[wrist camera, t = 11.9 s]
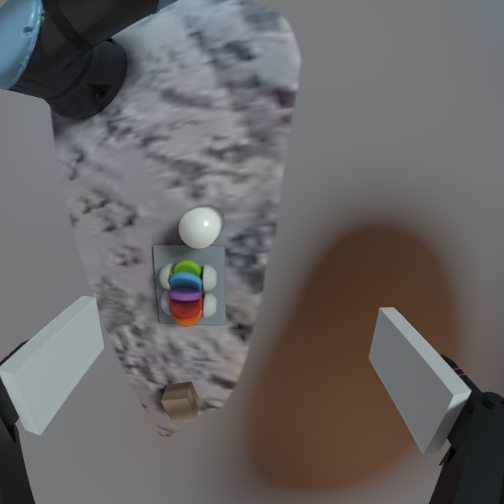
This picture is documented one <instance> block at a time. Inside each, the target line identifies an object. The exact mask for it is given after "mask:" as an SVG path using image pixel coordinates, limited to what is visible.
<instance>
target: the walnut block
mask: <svg viewBox="0 0 504 504" xmlns="http://www.w3.org/2000/svg"><path fill="white" fill-rule="evenodd" d="M161 402H162V404H163V406H164V408H165V410H166V412H167V414H168V415H169V417H170V419H171V420H183V419H194V418H197V414H198V409H199V404H200V400H199V398H198V395H197V393H196V391H195V389H194V386H193V384H192V382H185V383H178V384H169V385H167V386H166V388H165V391H164V394H163V396H162V399H161Z"/></svg>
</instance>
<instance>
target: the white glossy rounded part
mask: <svg viewBox="0 0 504 504" xmlns="http://www.w3.org/2000/svg"><path fill="white" fill-rule="evenodd" d="M223 228H224V216H223V214H222V212H221V211H220V210H219V209H218V208H217V207H215V206H212V205H203V206H200V207H198V208H196V209H194V210H191V211H189V212H187V213H186V214H185V215H184V216H183V217H182V219H181V221H180V223H179V234H180V237H181V239H182V240H183V241H184V243H185V244H187V245H188V246H190V247H192V248H196V249H201V248H205V247H208V246H209V245H210V244H212V243H213V241H214V240H215V239H216V238H217V236H218V235H219V234H220V233H221V231H222V230H223Z"/></svg>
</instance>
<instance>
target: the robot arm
mask: <svg viewBox="0 0 504 504" xmlns="http://www.w3.org/2000/svg"><path fill="white" fill-rule="evenodd" d="M176 1H178V0H8V1H7V2H5V4H4V5H3V6H2V7H1V8H0V88H1V89H6V90H11V91H15V92H19V93H23V94H27V95H31V96H35V97H38V98H42V99H44V100H45V101H46V102H47V103H48V104H49V105H50V107H51V108H52V109H53V110H54V111H55V112H56V113H58V114H59V115H61V116H64V117H68V118H72V119H83V118H87V117H90V116H92V115H94V114H96V113H98V112H100V111H101V110H102V109H104V108H105V107H106V106H107V105H108V104H109V103H110V102H111V101H112V100H113V99H114V97H115V96H116V95H117V93H118V92H119V90H120V88H121V86H122V84H123V82H124V79H125V76H126V71H127V59H126V54H125V52H124V50H123V48H122V47H121V45H120V44H119V43H117V42H116V41H115V40H114V39H113V38H111V37H112V36H113V35H115V34H117V33H118V32H120V31H122V30H123V29H125V28H127V27H128V26H130V25H132V24H134V23H136V22H137V21H139V20H141V19H143V18H145V17H147V16H149V15H150V14H156V13H158V12H159V11H160V10H161V9H162V8H164V7H166V6H168V5H170V4H172V3H174V2H176ZM103 349H104V344H103V339H102V333H101V328H100V323H99V316H98V310H97V303H96V297H88V296H82V297H81V298H79V299H78V300H77V301H75V302H74V303H73V304H72V305H71V306H69V307H68V308H67V309H66V310H65V311H63V312H62V313H61V314H60V315H58V316H57V317H56V318H55V319H54V320H52V321H51V322H50V323H49V324H48V325H46V326H45V327H44V328H43V329H42V330H41V331H39V332H38V333H37V334H36V335H35V336H34V337H33V338H31V339H29V340H27V341H25V342H23V343H21V344H20V345H19V346H18V347H17V348H16V349H14V351H12V352H11V353H10V354H9V356H7V357H5V358H4V359H3V360H2V361H1V362H0V504H35V501H34V498H33V495H32V491H31V488H30V484H29V480H28V476H27V473H26V468H25V463H24V459H23V454H22V449H21V444H20V438H19V432H18V429H17V427H16V425H15V423H16V421H17V420H18V419H20V420H21V423H22V424H23V426H24V428H25V430H27V431H30V432H33V433H35V434H37V435H41V434H42V433H43V431H44V430H45V428H46V427H47V425H48V424H49V422H50V421H51V420H52V418H53V417H54V415H55V414H56V412H57V411H58V410H59V408H60V406H61V405H62V404H63V402H64V401H65V400H66V398H67V397H68V396H69V394H70V393H71V391H72V390H73V388H74V387H75V386H76V385H77V383H78V382H79V381H80V379H81V378H82V376H83V375H84V374H85V372H86V371H87V370H88V368H89V367H90V366H91V364H92V363H93V362H94V360H95V359H96V358H97V357H98V355H99V354H100V353H101V351H102V350H103ZM369 360H370V362H371V363H372V365H373V367H374V369H375V370H376V372H377V374H378V375H379V377H380V379H381V381H382V382H383V384H384V386H385V387H386V389H387V391H388V393H389V394H390V396H391V398H392V400H393V401H394V403H395V405H396V407H397V408H398V410H399V412H400V414H401V416H402V417H403V419H404V421H405V423H406V424H407V426H408V428H409V430H410V432H411V434H412V435H413V437H414V439H415V441H416V443H417V445H418V447H419V448H420V450H421V452H422V454H423V455H424V454H428V453H432V452H435V451H438V450H440V449H441V448H442V446H443V444H444V443H445V441H446V439H448V440H449V442H450V443H451V446H450V448H449V450H448V451H447V453H446V454H445V456H444V457H443V459H442V461H441V462H440V464H439V465H442V464H443V462H444V464H443V467H442V470H441V473H440V476H439V479H438V482H437V484H436V487H435V490H434V492H433V495H432V497H431V500H430V502H429V504H504V398H503V397H501V396H500V395H499V394H496V393H493V392H483V393H482V392H481V391H480V390H479V389H478V388H477V386H476V385H475V384H474V383H473V382H472V381H471V380H470V379H469V378H468V377H467V375H464V372H463V371H462V370H461V369H459V367H458V366H457V365H456V364H455V363H454V362H453V361H452V360H451V359H449V358H447V357H446V356H444V355H439V354H438V353H437V352H436V351H435V350H434V349H433V348H432V347H431V346H430V345H429V343H427V341H426V340H425V339H424V338H423V337H422V336H421V335H420V334H419V333H418V332H417V331H416V330H415V329H414V328H413V327H412V326H411V325H410V324H409V323H408V322H407V321H406V319H405V318H403V316H402V315H401V314H400V313H398V311H397V310H396V309H395V308H379V313H378V318H377V323H376V328H375V333H374V337H373V342H372V346H371V350H370V355H369Z"/></svg>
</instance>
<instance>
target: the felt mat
mask: <svg viewBox="0 0 504 504" xmlns="http://www.w3.org/2000/svg"><path fill="white" fill-rule="evenodd" d="M153 253H154V267H155V280H156V291H157V302H158V311H159V320H160V323H176V324H178V323H177V322H176V321H175V320H174V318H173V317H172V315H169V314H167V313H165V312H164V311H163V309H162V308H161V296H162V294H163V293H164V292H165V291H167V289H165V288H164V287H163V286H162V285H161V284H160V281H159V273H160V270H161V269H162V268H163V267H164V266H165V265H167V264H170V263H172V264H173V265H174V267H175V265H176V264H177V263H178V262H179V261H181V260H185V259H189V260H192V261H194V262H196V263H197V264H198V265H199V266H200V267H201V268H202V277H203V269H204V265H205V264H207V265H210V266H212V267H213V268H214V269H215V270H216V272H217V284H216V286H215V288H214V289H212V290H211V291H208V292H209V293H211V294H213V295H214V296H215V298H216V299H217V307H216V313H215V314H214V315H213V316H211V317H209V318H203V315H201V318H200V319H199V321H198V322H197V323H195V324H199V325H226V296H225V245H209V246H208V247H205V248H201V249H196V248H192V247H190V246H188V245H153ZM204 295H205V292H204V291H203V290H202V297H204Z"/></svg>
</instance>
